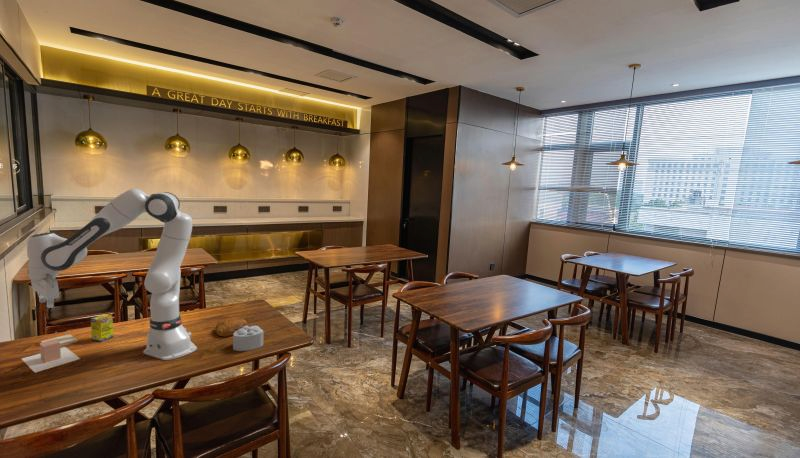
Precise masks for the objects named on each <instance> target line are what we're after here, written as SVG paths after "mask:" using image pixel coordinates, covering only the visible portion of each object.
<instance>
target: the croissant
mask: <svg viewBox="0 0 800 458" xmlns="http://www.w3.org/2000/svg"><path fill="white" fill-rule="evenodd" d="M243 326H248V322H247V320H245V319H243V318H241V317H237V316H232V317H227V318H224V319H221V320H220V321H219V322H217V324H216V325H215V326H214V327H215V328H214V331H215V333H216V334H217V335H218V336H220V337H222V338H224V337H225V338H227V337H230V336H233V334H234V332H236V331H237V330H239V329H241V328H242V327H243Z"/></svg>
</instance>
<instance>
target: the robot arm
mask: <svg viewBox="0 0 800 458" xmlns="http://www.w3.org/2000/svg"><path fill="white" fill-rule="evenodd" d="M180 204H181V203H180V200H179V197H177V196H176V194H173V193H172V192H167V191H164V192H162V191H160V192H157V193H152V194H150V195H149V194H147V193H146V192H144V191H143V190H142V189H139V188H130V189H128V190H126V191H124V192H123V193H121V194H119V195H117V196H116V197H115V198H113V199H112V200H110V201H109V202H108V203H107V204H106V205H105V206H104V207H103V208H102V209H101V210H100V211H99V212H98V213H96V215H95V216H94V217H93V218H92V219H91V220H90V221H88V223H87V224H86V225H84V226H83V227H82V228H80V229H79V230H78V231H77V232H75V233H74V234H73V235H71V236H69V238H65V237H62V236H59V235H58V234H56V233H55V232H42V233H36V234H34V235H31V236H29V237H28V239H27V242H26V243H27V244H26V251H27V252H26V253H27V254H26V255H27V258H28V260H29V261H28V265H27V274H28V278H29V279H30V283H31V288H32V290H33V291H35V292H36V293H37V296H38V301H39V303H46V308H47V309H51V308H54V302H55V299H58V298H59V297H60V289H59V283H58V280H57V279H56V277H58V276H60V272H61V271H65V270H68V269H69V268H71V267H72V266H74V265H75V264H78V263H79V262H80V261H82V260H84V259H85V258H86V257H87V255H88V253H89V252H88V251H89V250H88V247H89V246H90V245H91V244H92V243H93V242H95V241H96V240H98V239H100V238H101V237H103V236H106V235H109V234H110V233H113V232H115V231H118V230H120V229H122V228H124V227H126V226H127V225H129V224H131V223H133V221H135V220H136V219H137V218H139V216H140V215H142V214H145V213H147V214H148V215H149V216H151V218H152V217H153V218H154V219H157V220H158V221H160V222H162V223H164V225H163V230H162V232H161V236H160V240H159V241H158V245H157V248H156V252H155V254H154V256H153V259H152V261H151V263H150V265H149V268H148V271H147V273H146V275H145V279H144V282H143V283H144V287H145V290H146V291H147V292H149V293H151V296H150V297H151V298H150V301H149V302H150V303H149V305H150V318H149V328H150V329H149V331H148V333H147V334H146V348H145V349H143V355H147V356H150V357H153V358H156V359H159V360H162V361H170V360H175V359H178V358H181V357H184V356H187V355H189V354H191V353H193V352H195V351H196V350H197V349H198V347H197V346H196V345H195V344H194V343H193V342H192V341H191V337H192V332H190V331H187V328H186V327H185V326H183V324H182V323H183V322H182V321H183V320H182V317H181V314H180V290H181V289H180V288H181V272H182V269H181V265H182V263H183V260H184V258H185V256H186V252H187V249H188V246H189V242H190V240H191V237H192V231H193V225H194V224H193V223H194V221H193V218H192V217H191V216H190V215H189V214H188V213H185V212H182V211H180V210H179V209H180V206H181V205H180Z"/></svg>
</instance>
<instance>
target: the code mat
mask: <svg viewBox="0 0 800 458" xmlns="http://www.w3.org/2000/svg"><path fill="white" fill-rule="evenodd" d="M60 352H61V358H60V359H56V360H53V361H50V362H46V363H45V362H44V361H42V360H41V354H40V353H36V354H34V355H31V356H26V357H23V358H21V361H23V362H24V363H25V365H27V366H28V367H29V369H31V371H32V372H34V373H38V372H41V371H42V372H43V371H44V370H48V369H51V368H55V367H58V366H62V365H64V364H68V363H71V362H74V361H77V360H81V358H80V357H79V356H77V354H75V353H74V352H73V351H72V350H70V349H69V348H68V347H66V346H61V347H60Z"/></svg>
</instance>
